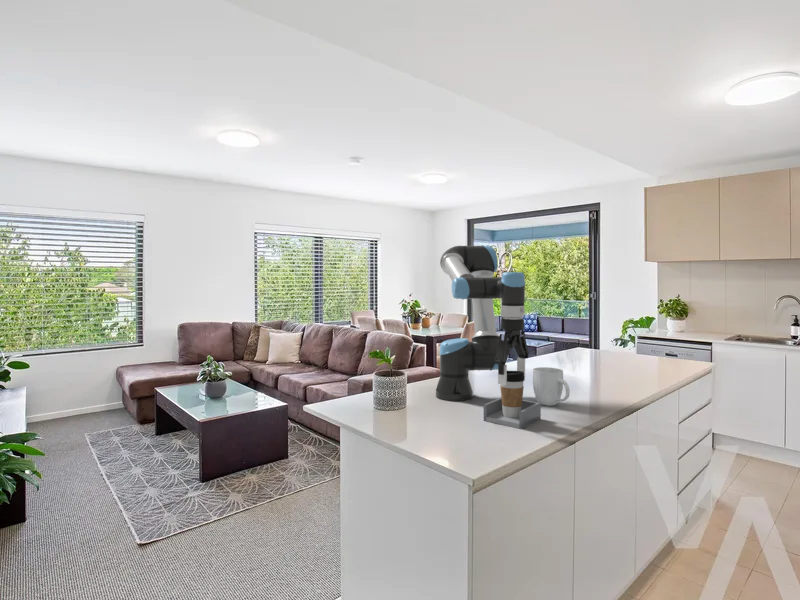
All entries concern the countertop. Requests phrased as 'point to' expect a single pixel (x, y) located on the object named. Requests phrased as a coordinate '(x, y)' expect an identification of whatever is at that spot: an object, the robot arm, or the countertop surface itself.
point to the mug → (549, 385)
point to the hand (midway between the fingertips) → (511, 380)
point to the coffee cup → (512, 394)
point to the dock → (526, 417)
